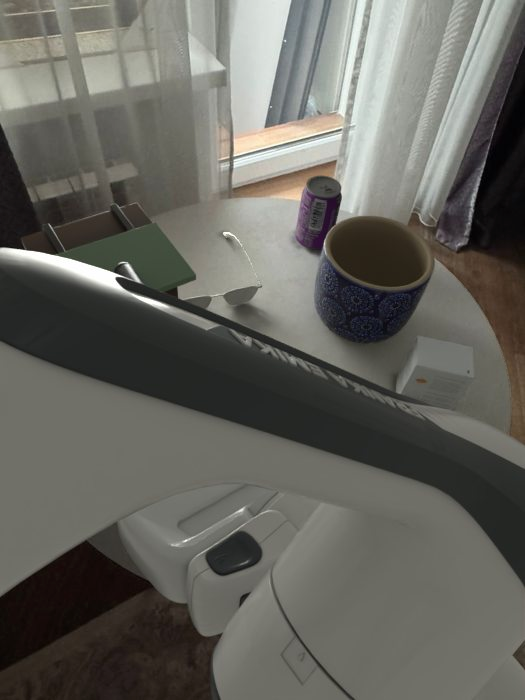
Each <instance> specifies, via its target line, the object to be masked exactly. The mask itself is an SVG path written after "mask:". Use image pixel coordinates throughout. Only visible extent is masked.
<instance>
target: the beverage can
mask: <svg viewBox="0 0 525 700" xmlns="http://www.w3.org/2000/svg"><path fill="white" fill-rule="evenodd" d="M342 200H343V194H342V185H341V183H340V182H339V181H338V180H337V179H335V178H333V177H332V176H329V175H314V176H311V177H309V178H308V179H307V180H306V183H305V186H304V187H303V189H302V191H301V195H300V202H299V208H298V216H297V222H296V227H295V234H294V237H295V239H296V241H297V242H298V244H299V245H301V246H302V247H305V248H308V249H311V250H312V249H313V250H322V247H323V244H324V240H325V237H326V235H327V233H328V232H329V230H330V229H331V228H332V227H333V226H334V225H336V224H337V221H338V217H339V213H340V209H341V204H342Z"/></svg>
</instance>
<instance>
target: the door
mask: <svg viewBox="0 0 525 700" xmlns="http://www.w3.org/2000/svg"><path fill="white" fill-rule="evenodd" d="M53 256H58V257H62V258H67V259H71V260H74V261H78V262H81V263H84V264H87V265H91V266H94V267H97V268H101V269H104V270H107V271H110V272H112V273H115V274H118V275H120V276H123V277H126V278H128V279H131V280H133V281H136V282H138V283H141V284H144V285H146V286H149V287H151V288H154V289H156V290H159V291H162V292H165V291H168V290H170V289H173V288H176V287H177V288H178V287H182V286H184V285H186V284H188V283H192V282H194V281H196V280H197V274H196V273H195V271H194V270H193V268H192V267H191V266H190V264H189V263H188V262H187V261H186V259H185V258H184V257H183V256H182V254H181V253H180V252H179V250H178V249H177V248H176V247H175V245H174V244H173V242H171V240H170V239H169V238H168V236H167V235H166V234H165V233H164V231H163V229H161V227H160V226H159V225H158V224H157V222H152V223H151V224H148V225H145V226H142V227H139V228H136V229H133V230H130V231H127V232H124V233H121V234H118V235H114V236H111V237H108V238H105V239H102V240H99V241H96V242H93V243H90V244H87V245H84V246H81V247H78V248H74V249H71V250H68V251H65V252H62V253H59V254H56V255H53Z"/></svg>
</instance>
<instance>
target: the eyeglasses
mask: <svg viewBox="0 0 525 700" xmlns="http://www.w3.org/2000/svg"><path fill="white" fill-rule="evenodd" d="M222 235H223V236H224V237H225V238H227V239H228V238H229V237H233V238H234V239H235V240H236V241H237V242H238V243H239V245H240V246H241V248H242V250H243V251H244V253H245V255H246V258H247V259H248V261H249V263H250V265H251V267H252V270H253V273H254V275H255V277H256V279H257V285H247V286H243V287H238V288H234V289H230V290H226V291H225V292H224V293H216V294H213V295H208V294H205V295H197V296H192V297H187V298H183V299H182V298H181V300H184V301H186V302H189V303H191V304H194V305H196V306H199V307H201V308H203V309H206V310H207V308H208V307H209V306H210V305H211V302H212V298H215V297H220V296H222V298H223V299H224V300H225V302H226V303H227V304H228V305H230V306H237V305H242V304H246V303H248V302H250V301H251V300H253V298H254V297H255V296H256V294H257V292H258V290H259V289H262V288H263V285H262V282H261V280H260V279H259V278H258V276H257V275H258V274H257V273H256V270H255V268H254V266H253V264H252V261H251V259H250V257H249V255H248V253H247V252H246V249H245V248H244V247H245V246H244V245H243V244H242V242H241V241H240V240H239V238H238V237H237V236H235V235H234V234H233V233H231V232H228V231H224V232H223V233H222Z"/></svg>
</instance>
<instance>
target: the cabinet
mask: <svg viewBox="0 0 525 700" xmlns="http://www.w3.org/2000/svg"><path fill="white" fill-rule="evenodd" d="M109 209H110V210H108V211H104V212H101V213H98V214H95V215H92V216H91V215H90V216H88V217H85V218H82V219H78V220H75V221H72V222H69V223H65V224H62V225H58V226H55V227H52V226H51V225H50V224H51V223H46V224H42V225H41V226H42V227H41V228H42V231H39V232H35V233H32V234H29V235H25V236H22V237H20V241H21V243H22V246H23V248H24V250H26V251H34V252H39V253H44V254H49V255H56V254H59V253H62V252H65V251H68V250H71V249H74V248H78V247H81V246H84V245H87V244H90V243H93V242H96V241H99V240H102V239H105V238H108V237H111V236H114V235H118V234H121V233H124V232H127V231H130V230H133V229H136V228H139V227H142V226H145V225H148V224H151V223H153V221H152V219H150V217H149V216H148V215H147V214H146V212H145V211H144V209H143V208H142V207H141V206H140V204H139V203H138V202H134V203H131V204H128V205H124V206H121V207H119V205H118V204H117V203H112V204H110V205H109ZM164 293H167V294H169V295H172V296H174V297H176V298H179V289H178V287H176V288H173V289H170V290H168V291H165V292H164Z"/></svg>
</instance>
